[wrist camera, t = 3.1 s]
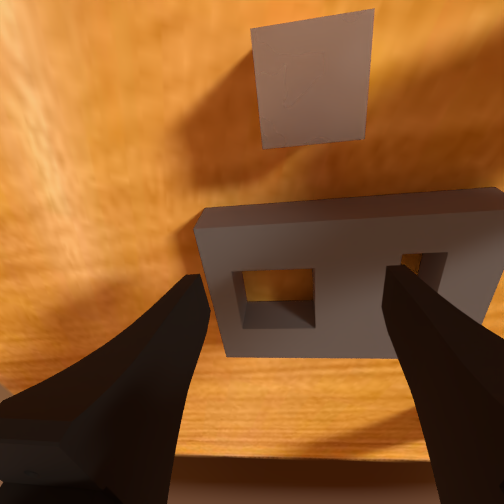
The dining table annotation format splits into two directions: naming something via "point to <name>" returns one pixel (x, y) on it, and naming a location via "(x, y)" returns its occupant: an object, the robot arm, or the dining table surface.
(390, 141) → the dining table surface
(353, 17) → the square bit
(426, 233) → the socket block
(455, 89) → the dining table surface
